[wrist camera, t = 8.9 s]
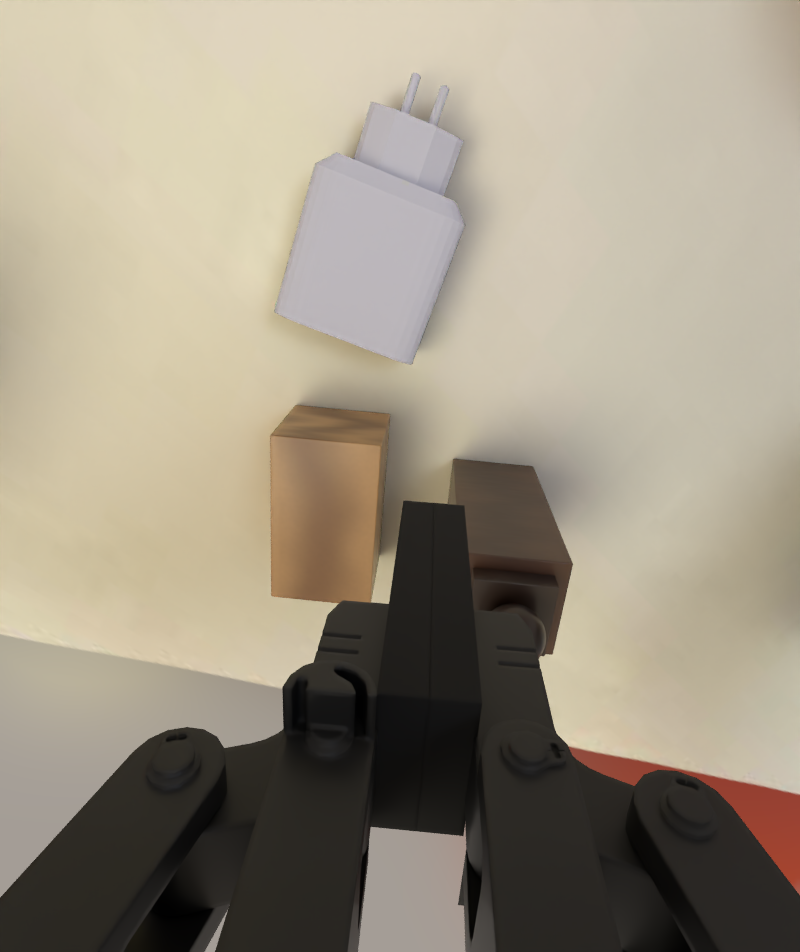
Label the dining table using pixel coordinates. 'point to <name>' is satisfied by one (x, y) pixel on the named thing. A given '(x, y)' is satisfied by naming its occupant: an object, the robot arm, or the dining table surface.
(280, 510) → the wooden block
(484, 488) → the pepper mill
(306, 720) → the robot arm
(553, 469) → the dining table surface
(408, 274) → the charger
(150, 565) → the dining table surface
